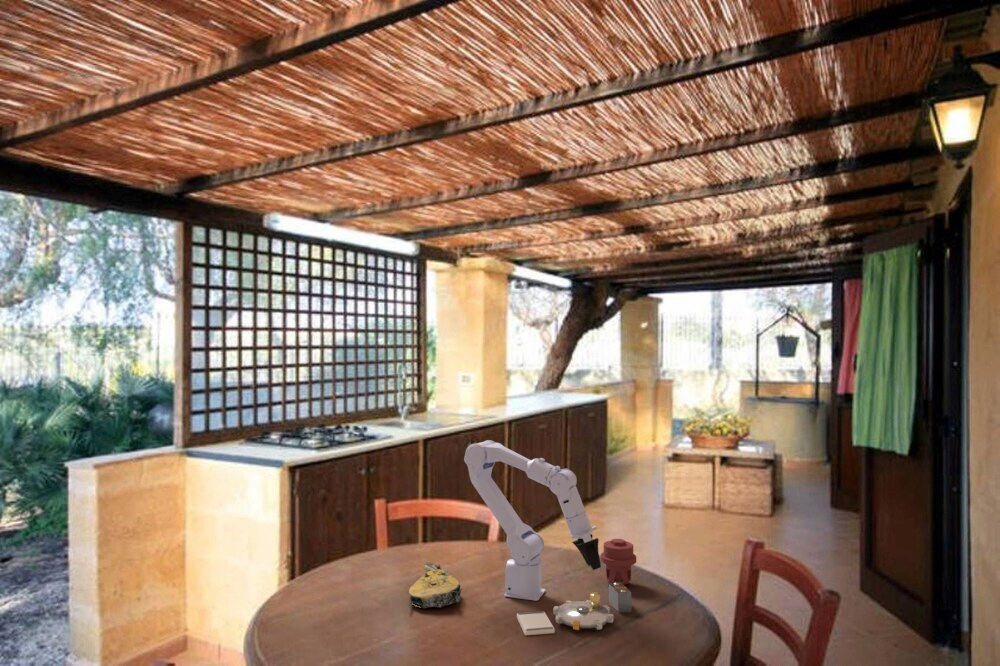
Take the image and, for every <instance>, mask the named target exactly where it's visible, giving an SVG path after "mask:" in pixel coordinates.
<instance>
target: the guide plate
mask: <svg viewBox="0 0 1000 666" xmlns="http://www.w3.org/2000/svg"><path fill="white" fill-rule="evenodd" d="M516 619H517V621H518V623H519V626H520V628H521V629H522V631H523V634H524V636H532V635H534V636H535V635H536V636H537V635H548V634H555V632H556V631H555V630H556V629H555V627H554V626H553V624H552V622H551V621H550V618H549V617H548V615H547V613H546V612H545V611H543V610H542V611H541V610H540V611H539V610H538V611H527V612H525V611H524V612H518V613H516Z"/></svg>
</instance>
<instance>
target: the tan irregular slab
mask: <svg viewBox="0 0 1000 666" xmlns="http://www.w3.org/2000/svg"><path fill="white" fill-rule="evenodd" d="M423 569H424V571H425V573H424V574H422V576H421V577H419V578H418V579H417V580H416V581H415V582H414V583H413V584H412V585H411V586H409V590H408V594H409V596H410V595H411V596H410V597H409V599H410V600H411V604H410V606H409V611H411V610H412V607H413V606H412V603H413V604H415V605H417V606H420V607H421V608H423V609H429V608H432V607H433V608H434V607H435V608H439V609H440V608H443V607H444V606H449V605H451V604H454V603H459V602H461V601H462V599H461V595H462V594H461V593H462V590H463V589H462V588H461V585H460V581H459V580H458V579H457V578H456V577H455V576H454V575H452V574H451V573H450V572H449V571H448V570H447V569H446V568H445V567H444V566H441V564H440V563H439V564H437V563H434V562H430V561H428V562H427V561H426V562H425V563H424V564H423ZM410 600H409V601H410Z"/></svg>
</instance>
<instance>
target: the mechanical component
mask: <svg viewBox="0 0 1000 666" xmlns="http://www.w3.org/2000/svg"><path fill="white" fill-rule="evenodd" d="M600 562H602V563H603V564H604V565H605V569H606V570H605V577H606V580H607V582H608V584H609V583H622V584H623V585H624V586H625V585H629V584H630V582H631V581H632V566H633V565H635V564H636V563H637V555H636V554H634V544H633V543H631V542H630V541H626V540H625V539H621V538H613V539H611V540H608V541H605V542H604V543H603V551H602V553H600Z"/></svg>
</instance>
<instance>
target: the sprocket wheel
mask: <svg viewBox="0 0 1000 666" xmlns="http://www.w3.org/2000/svg"><path fill="white" fill-rule="evenodd" d="M589 595H590V596H589V598H590V599H586V600H585V601H583V600H578V601H577V600H576V601H573V600H568V599H567V600H565V601H564V603H563V604H561V605H558V606H557V605H555V606H553V609H552V610H553V611H552V612H553V613H552V614H553V615H555V622H556V623H557V625H558V624H564V625H567V626H568V627H572V629H573V630H576V631H580V629H595V630H602V629H603V626H605V625H606V624H607V623H611V624H613V622H614V613H611V612H610V609H611V608H610V606H608V605H601V594H600V593H599V592H595V591H594V592H593V591H592V592H591V593H590V594H589Z"/></svg>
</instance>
